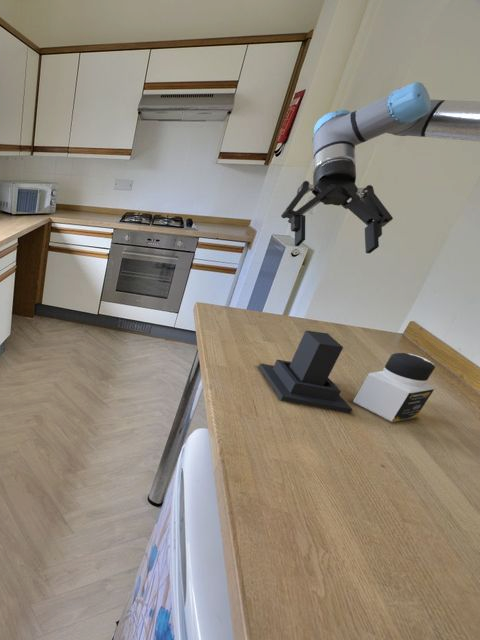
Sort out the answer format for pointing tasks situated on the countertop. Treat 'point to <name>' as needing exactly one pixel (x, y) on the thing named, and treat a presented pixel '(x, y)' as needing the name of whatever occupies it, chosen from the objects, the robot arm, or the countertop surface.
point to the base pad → (303, 388)
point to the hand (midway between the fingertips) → (335, 246)
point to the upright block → (315, 358)
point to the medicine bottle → (397, 387)
